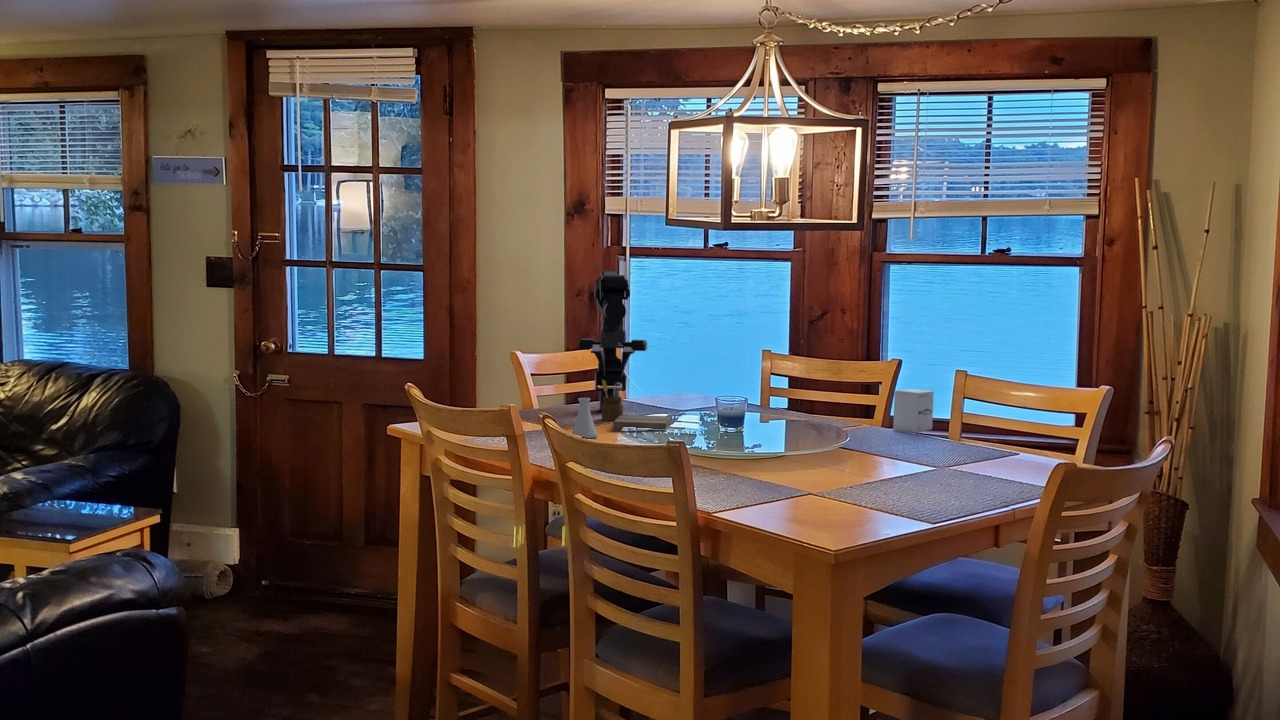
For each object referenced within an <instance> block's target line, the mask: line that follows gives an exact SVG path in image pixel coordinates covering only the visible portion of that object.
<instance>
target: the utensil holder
mask: <svg viewBox="0 0 1280 720" xmlns="http://www.w3.org/2000/svg"><path fill="white" fill-rule="evenodd" d="M603 382H604V380H602V384H603V386H602V387H603V389H604V391H605V393H606V396H605V397H604V399H603V401H604V403H603V405H602V412H601V421H604V422H614V421H615V420H616V419H617V418H618V417H619V416H620V415H624V406H623V403H622V402H623V399H622V396H621V395H619V396H607V391H608V389H607V387H608V386H607V385H606V381H605V382H604V383H603ZM618 384H619V383H618ZM620 384H621V383H620ZM616 385H617V383H616ZM616 385H615V386H614V387H617V386H616ZM620 387H622V386H620ZM615 389H616V388H615ZM617 389H619V388H617ZM620 390H621V389H620ZM621 393H622V391H619V394H621ZM614 394H615V390H614ZM617 395H618V394H617Z"/></svg>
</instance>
